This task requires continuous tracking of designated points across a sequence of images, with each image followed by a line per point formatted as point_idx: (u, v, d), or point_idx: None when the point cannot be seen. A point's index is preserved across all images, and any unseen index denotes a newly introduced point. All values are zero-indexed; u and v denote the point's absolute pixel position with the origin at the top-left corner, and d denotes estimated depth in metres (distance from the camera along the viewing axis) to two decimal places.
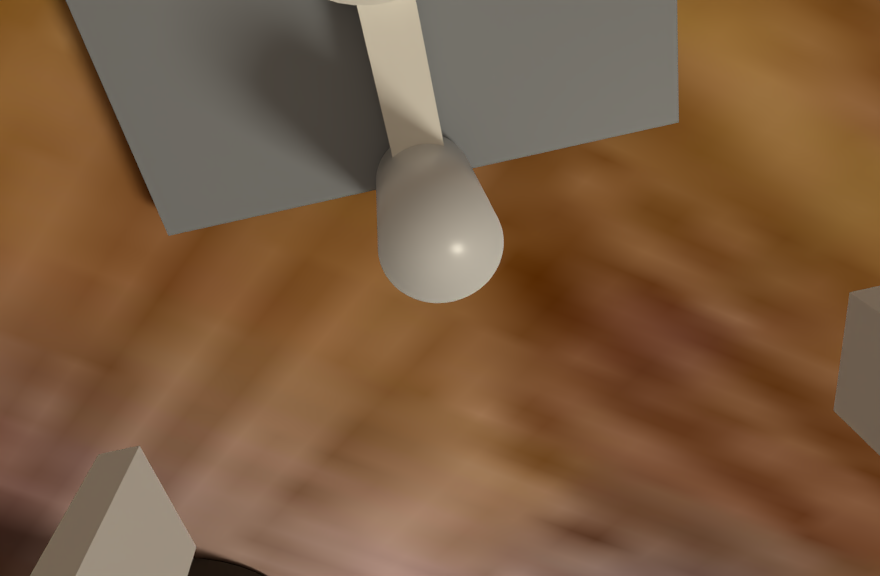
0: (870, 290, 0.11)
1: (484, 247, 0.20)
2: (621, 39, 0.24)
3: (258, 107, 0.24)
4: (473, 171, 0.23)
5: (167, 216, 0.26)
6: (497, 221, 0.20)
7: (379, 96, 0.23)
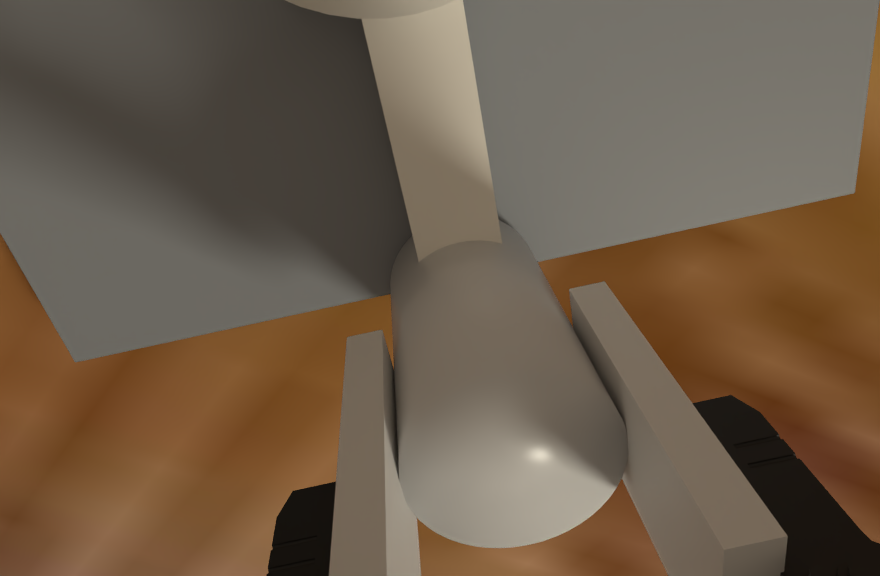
0: (584, 287, 0.13)
1: (592, 465, 0.11)
2: (783, 69, 0.15)
3: (204, 176, 0.15)
4: (549, 285, 0.14)
5: (71, 335, 0.17)
6: (620, 424, 0.10)
7: (398, 168, 0.13)
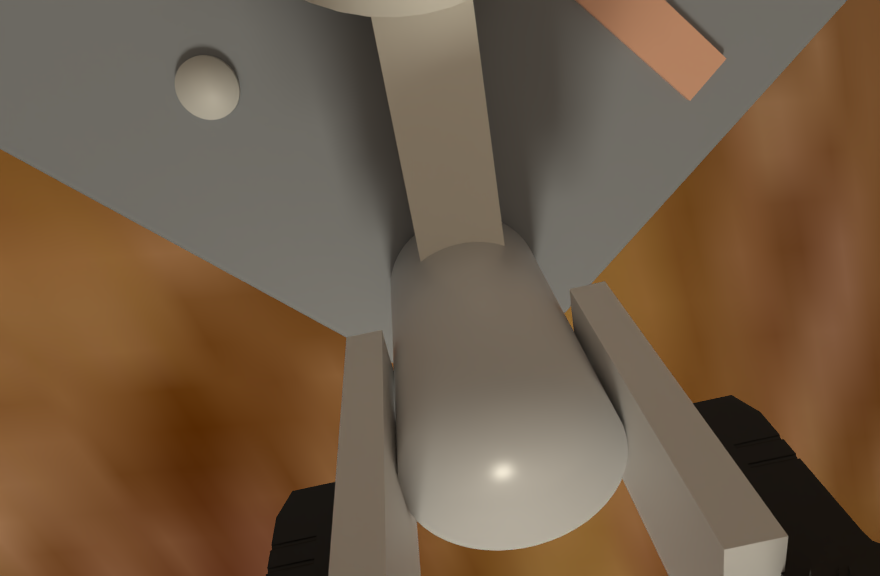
0: (585, 287, 0.13)
1: (591, 469, 0.11)
2: None
3: None
4: None
5: None
6: (621, 429, 0.10)
7: (403, 167, 0.13)
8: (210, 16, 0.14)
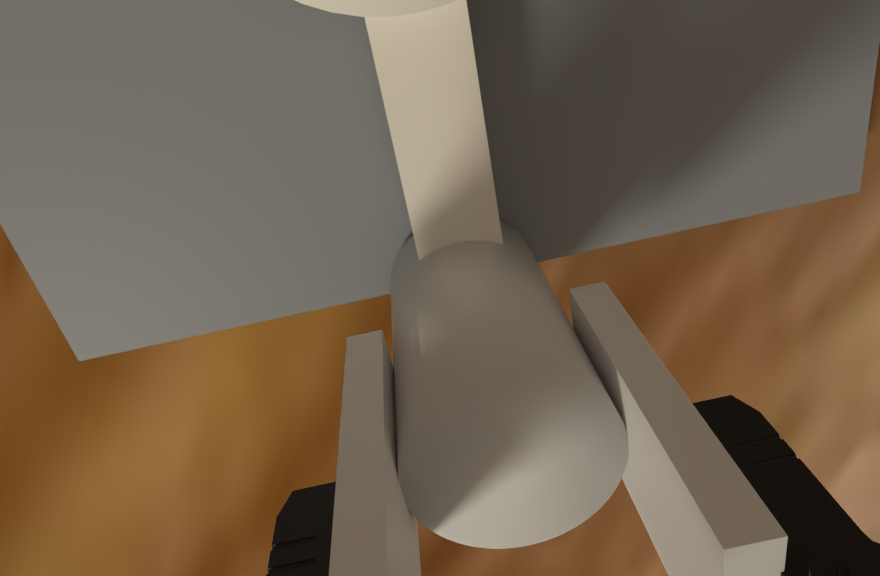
0: (584, 287, 0.13)
1: (592, 466, 0.11)
2: (180, 260, 0.16)
3: None
4: None
5: None
6: (621, 425, 0.10)
7: (400, 167, 0.13)
8: None
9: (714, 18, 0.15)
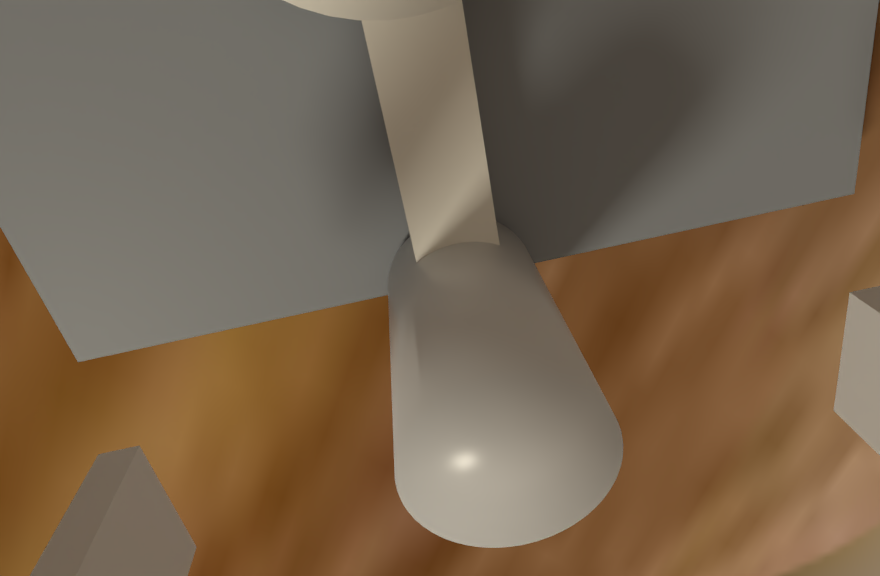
0: (870, 290, 0.11)
1: (587, 466, 0.11)
2: (178, 261, 0.16)
3: None
4: (546, 287, 0.15)
5: None
6: (615, 425, 0.11)
7: (397, 169, 0.14)
8: None
9: (709, 21, 0.15)
